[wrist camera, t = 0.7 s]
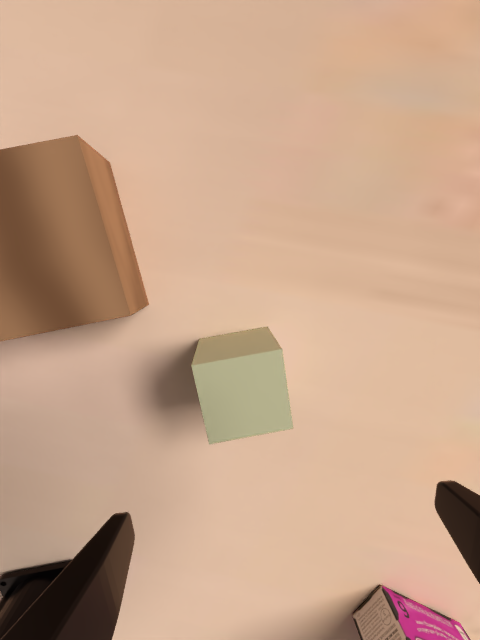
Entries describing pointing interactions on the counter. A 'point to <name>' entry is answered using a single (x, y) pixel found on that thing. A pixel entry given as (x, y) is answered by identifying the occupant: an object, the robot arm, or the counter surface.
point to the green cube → (241, 385)
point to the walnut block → (62, 240)
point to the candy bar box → (403, 619)
